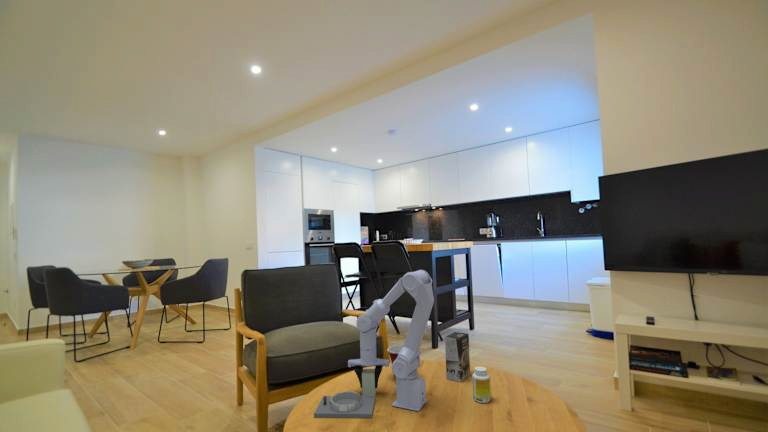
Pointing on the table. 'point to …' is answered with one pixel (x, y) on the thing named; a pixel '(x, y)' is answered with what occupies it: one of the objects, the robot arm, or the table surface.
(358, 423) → the table surface
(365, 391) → the pale green rectangular block
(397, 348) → the plastic cup
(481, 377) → the supplement bottle
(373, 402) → the base board
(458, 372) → the coffee box
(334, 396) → the collar
